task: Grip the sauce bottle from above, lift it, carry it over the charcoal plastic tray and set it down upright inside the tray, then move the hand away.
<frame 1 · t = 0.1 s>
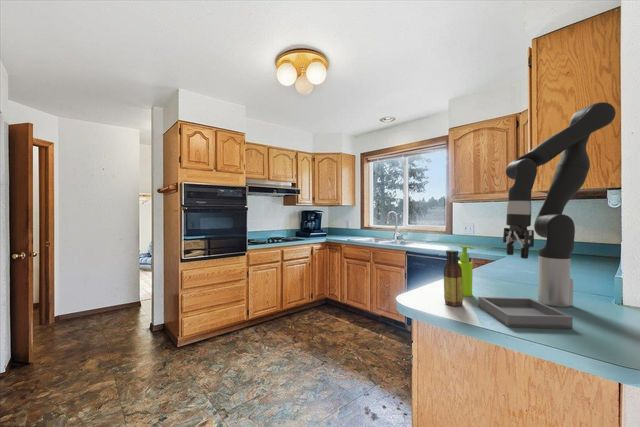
hand: (516, 256, 106), 17 cm above the worktop, tool pointing down, fingers open, 8 cm apart
charcoal tray: (520, 316, 92), on the worktop
sauce bottle: (453, 304, 104), on the worktop
soap dispenser: (465, 294, 117), on the worktop
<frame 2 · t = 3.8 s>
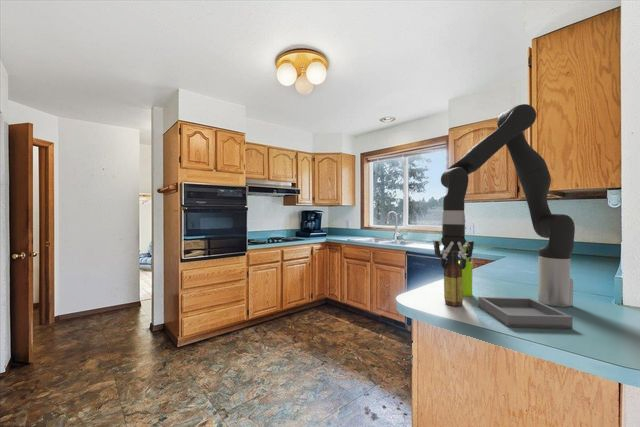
hand: (452, 268, 104), 13 cm above the worktop, tool pointing down, fingers closed on sauce bottle, 6 cm apart
sauce bottle: (453, 304, 104), on the worktop, touching gripper
everything else where it was.
when the fingers open (15 cm above the worktop, at t = 9.8 s): sauce bottle drops 1 cm, resting on charcoal tray.
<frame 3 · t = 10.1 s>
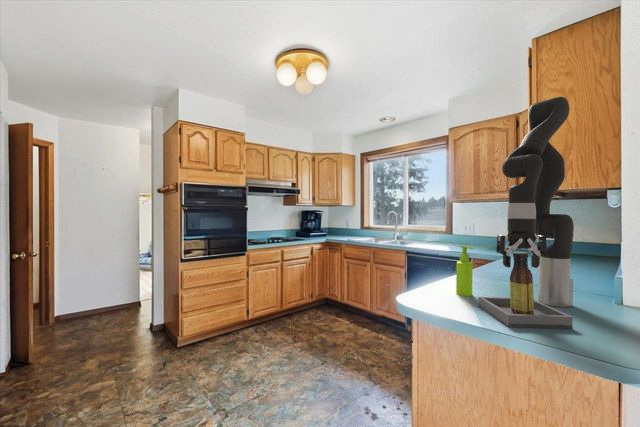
hand: (520, 267, 92), 16 cm above the worktop, tool pointing down, fingers open, 8 cm apart
sauce bottle: (521, 314, 92), point 1 cm above the worktop, touching charcoal tray
everything else where it was.
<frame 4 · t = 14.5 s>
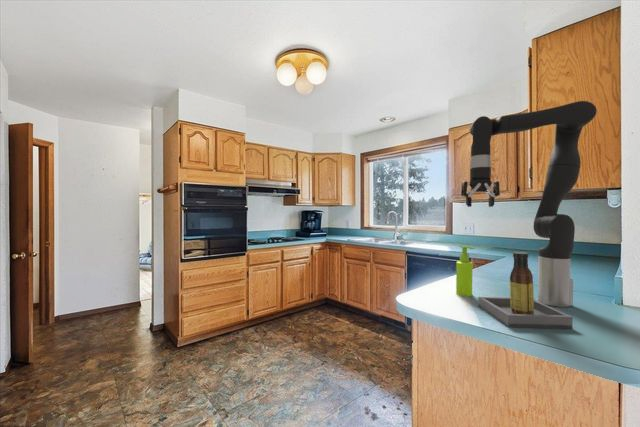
hand: (480, 206, 117), 36 cm above the worktop, tool pointing down, fingers open, 8 cm apart
nothing on the worktop moved.
at the end: sauce bottle inside the target area on the charcoal tray (0.3 cm from its centre), point 0.8 cm above the charcoal tray's base; sauce bottle tilted 0°; the gripper is holding nothing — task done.
